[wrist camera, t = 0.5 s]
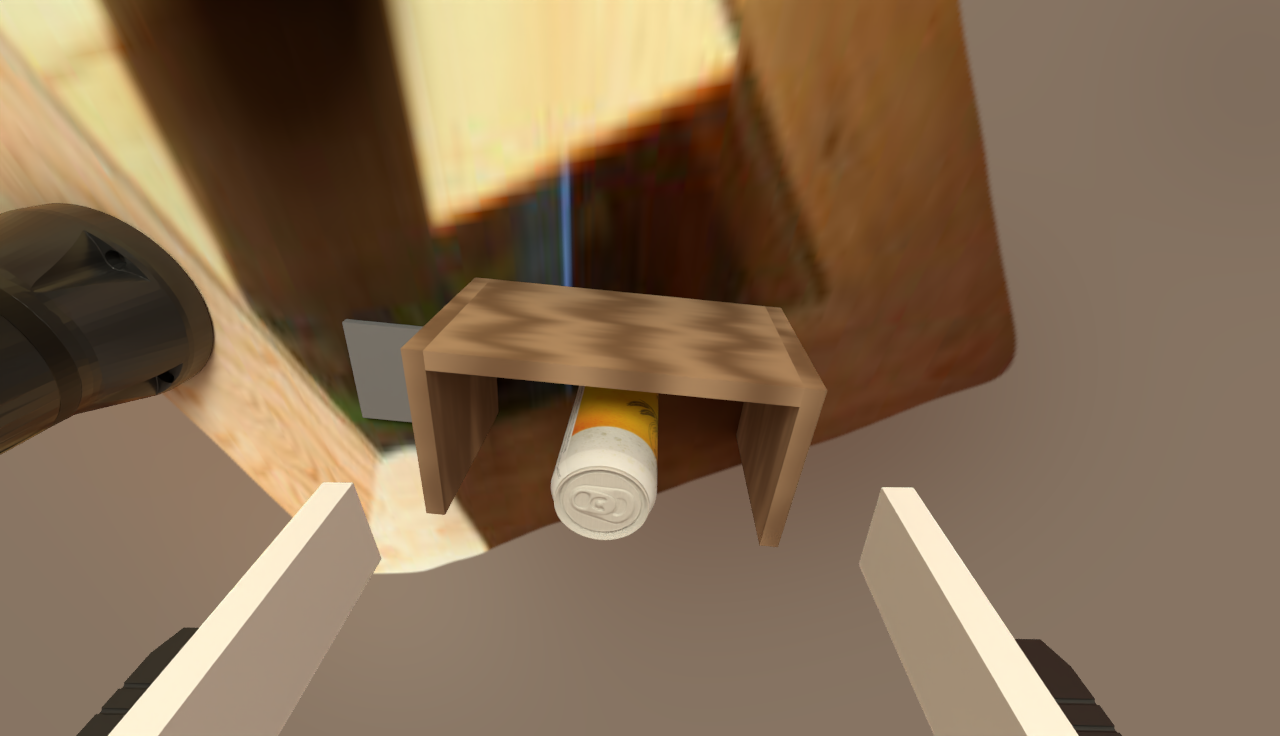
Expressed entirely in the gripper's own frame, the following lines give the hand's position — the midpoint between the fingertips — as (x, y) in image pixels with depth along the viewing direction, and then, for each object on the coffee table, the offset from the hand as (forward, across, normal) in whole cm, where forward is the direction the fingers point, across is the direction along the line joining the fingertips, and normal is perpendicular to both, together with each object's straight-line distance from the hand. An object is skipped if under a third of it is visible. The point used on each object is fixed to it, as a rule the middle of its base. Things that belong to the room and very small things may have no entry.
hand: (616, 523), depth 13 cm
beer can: (+26, -2, -10) cm, 28 cm away
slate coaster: (+26, -19, -11) cm, 34 cm away
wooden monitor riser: (+26, -1, -9) cm, 28 cm away
